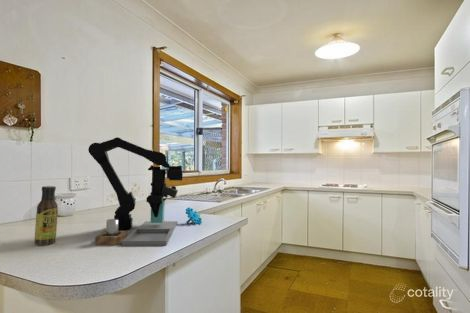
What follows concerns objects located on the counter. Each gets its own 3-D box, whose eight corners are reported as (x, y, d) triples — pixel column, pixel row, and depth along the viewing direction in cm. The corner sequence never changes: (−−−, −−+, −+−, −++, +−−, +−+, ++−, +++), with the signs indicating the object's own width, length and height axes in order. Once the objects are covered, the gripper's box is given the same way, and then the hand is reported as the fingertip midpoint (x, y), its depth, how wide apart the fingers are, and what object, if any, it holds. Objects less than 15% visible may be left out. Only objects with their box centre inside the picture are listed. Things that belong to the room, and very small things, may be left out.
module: (150, 222, 120) (151, 201, 121) (152, 220, 125) (153, 200, 125) (162, 222, 121) (162, 202, 121) (164, 220, 126) (164, 200, 126)
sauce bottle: (42, 247, 93) (44, 187, 93) (30, 244, 95) (32, 186, 95) (60, 242, 99) (62, 186, 99) (48, 240, 101) (50, 185, 101)
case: (121, 246, 95) (121, 241, 95) (145, 223, 131) (145, 219, 131) (166, 246, 96) (166, 240, 96) (177, 223, 132) (177, 219, 132)
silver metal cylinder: (104, 244, 98) (104, 221, 98) (107, 240, 102) (108, 218, 102) (116, 244, 98) (116, 221, 98) (119, 240, 102) (119, 218, 102)
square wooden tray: (95, 245, 95) (95, 237, 95) (104, 239, 104) (104, 231, 104) (120, 245, 96) (120, 237, 96) (127, 239, 105) (127, 231, 105)
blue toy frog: (195, 223, 126) (184, 206, 130) (186, 231, 127) (175, 214, 131) (207, 222, 136) (196, 206, 140) (198, 230, 137) (188, 214, 141)
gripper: (174, 182, 115) (173, 220, 115) (179, 179, 133) (178, 212, 133) (146, 182, 114) (145, 220, 114) (155, 179, 132) (154, 212, 132)
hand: (157, 215), depth 123 cm, fingers closed on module, 5 cm apart
